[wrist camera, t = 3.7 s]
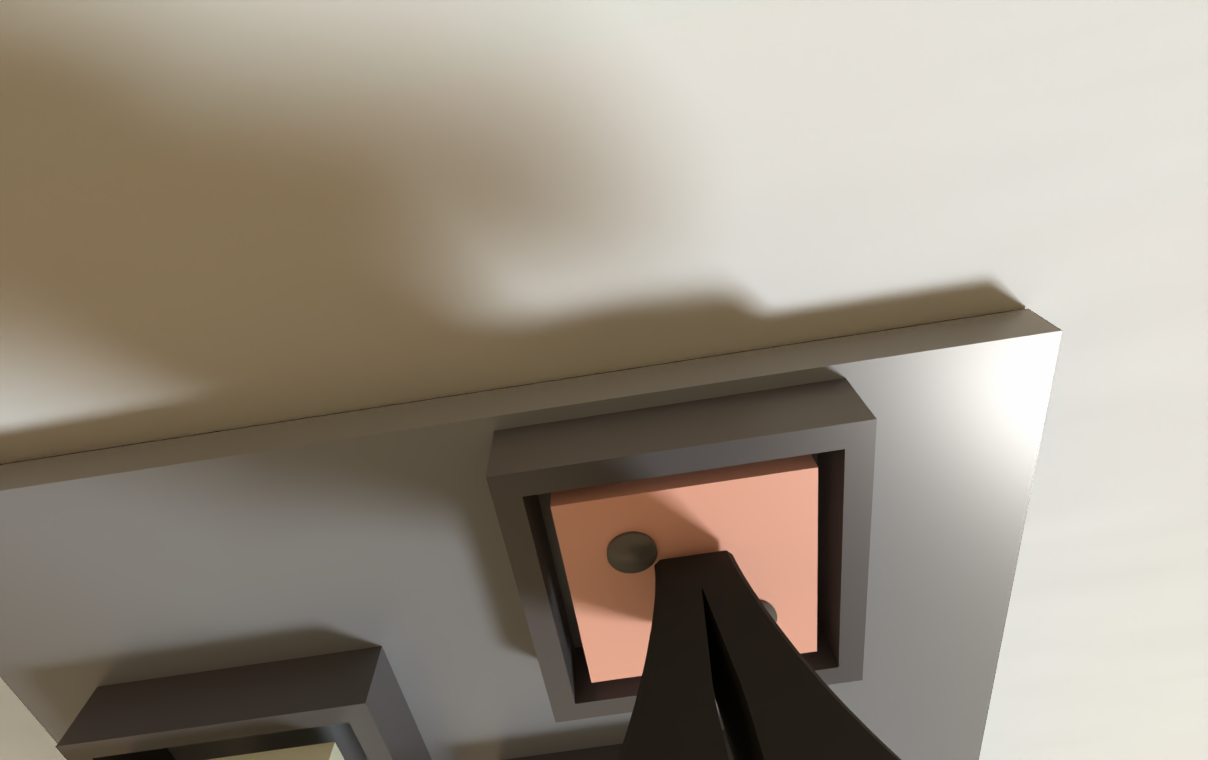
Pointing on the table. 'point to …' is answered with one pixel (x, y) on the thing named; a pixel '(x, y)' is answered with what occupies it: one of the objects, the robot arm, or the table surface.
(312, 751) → the key two
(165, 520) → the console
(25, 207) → the table surface
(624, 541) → the key three
